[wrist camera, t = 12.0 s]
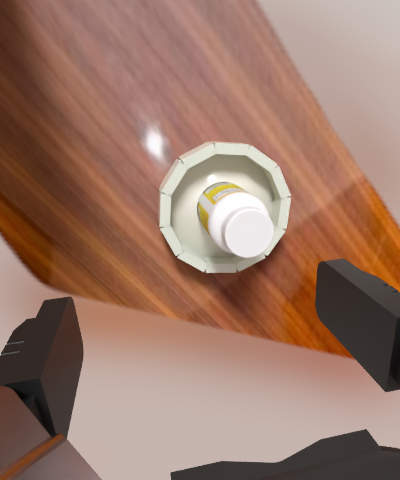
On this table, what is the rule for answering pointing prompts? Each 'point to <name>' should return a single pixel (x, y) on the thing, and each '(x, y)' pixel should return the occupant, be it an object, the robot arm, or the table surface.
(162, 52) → the table surface
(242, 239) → the supplement bottle
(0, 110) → the table surface
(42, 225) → the table surface
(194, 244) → the sage bowl
